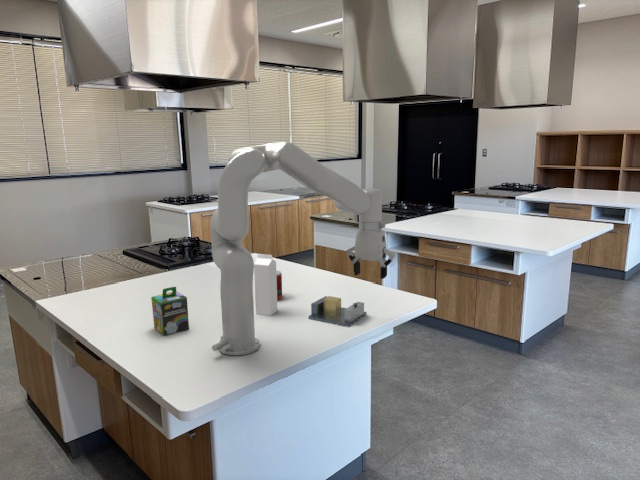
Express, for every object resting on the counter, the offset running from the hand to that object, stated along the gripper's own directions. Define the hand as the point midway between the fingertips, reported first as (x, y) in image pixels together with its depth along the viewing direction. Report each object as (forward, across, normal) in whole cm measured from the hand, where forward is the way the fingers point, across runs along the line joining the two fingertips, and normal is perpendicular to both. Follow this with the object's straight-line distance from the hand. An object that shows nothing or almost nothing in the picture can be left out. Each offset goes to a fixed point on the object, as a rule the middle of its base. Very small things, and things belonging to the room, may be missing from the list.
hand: (370, 276), depth 158 cm
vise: (+17, +13, 0) cm, 21 cm away
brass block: (+16, +15, 0) cm, 21 cm away
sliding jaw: (+15, +6, 0) cm, 17 cm away
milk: (+17, +38, +9) cm, 42 cm away
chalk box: (+16, +56, +38) cm, 69 cm away
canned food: (+17, +46, -5) cm, 49 cm away
